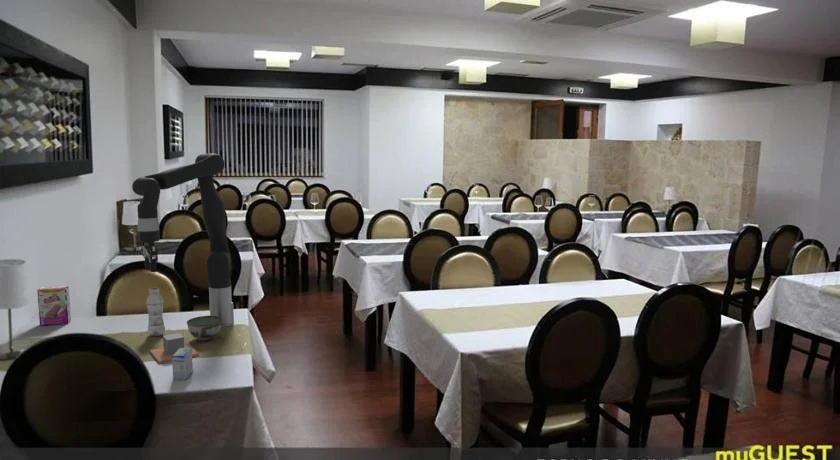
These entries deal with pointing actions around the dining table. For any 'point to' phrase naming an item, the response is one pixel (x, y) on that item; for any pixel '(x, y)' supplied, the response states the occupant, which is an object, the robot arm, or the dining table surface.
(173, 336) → the slate cube
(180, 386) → the dining table surface
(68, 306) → the candy bar box
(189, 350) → the medicine box
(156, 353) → the terracotta tile
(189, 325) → the bowl
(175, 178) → the robot arm
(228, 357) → the dining table surface
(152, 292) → the plastic bottle
